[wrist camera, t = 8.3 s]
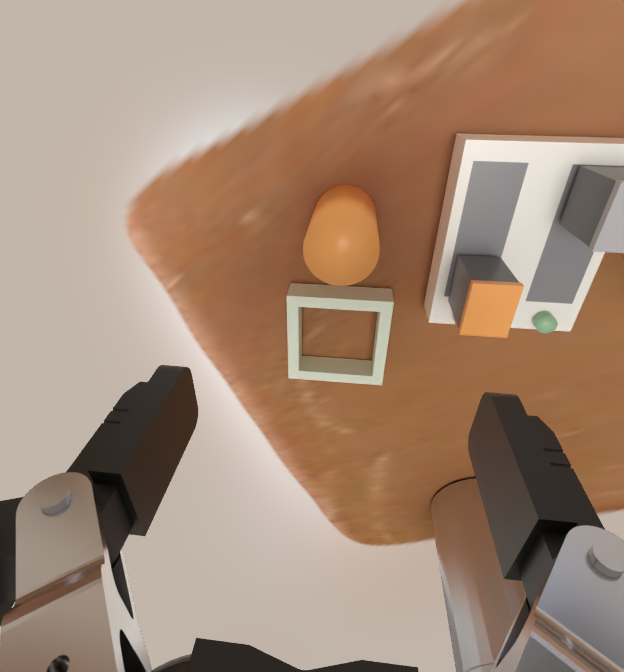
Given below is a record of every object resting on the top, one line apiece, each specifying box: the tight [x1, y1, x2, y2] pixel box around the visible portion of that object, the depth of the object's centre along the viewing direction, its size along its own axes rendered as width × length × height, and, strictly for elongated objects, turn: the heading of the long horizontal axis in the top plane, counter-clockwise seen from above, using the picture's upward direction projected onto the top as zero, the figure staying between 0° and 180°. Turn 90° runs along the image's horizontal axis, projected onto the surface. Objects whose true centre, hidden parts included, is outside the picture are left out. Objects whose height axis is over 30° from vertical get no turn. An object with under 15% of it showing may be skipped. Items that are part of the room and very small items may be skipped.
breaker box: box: [424, 133, 624, 334], centre depth 24 cm, size 11×9×3 cm
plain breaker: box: [560, 166, 624, 253], centre depth 19 cm, size 3×2×4 cm
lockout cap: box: [303, 185, 380, 286], centre depth 23 cm, size 4×4×6 cm
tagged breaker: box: [448, 255, 524, 338], centre depth 23 cm, size 3×2×4 cm
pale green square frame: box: [287, 283, 394, 385], centre depth 30 cm, size 7×7×2 cm
